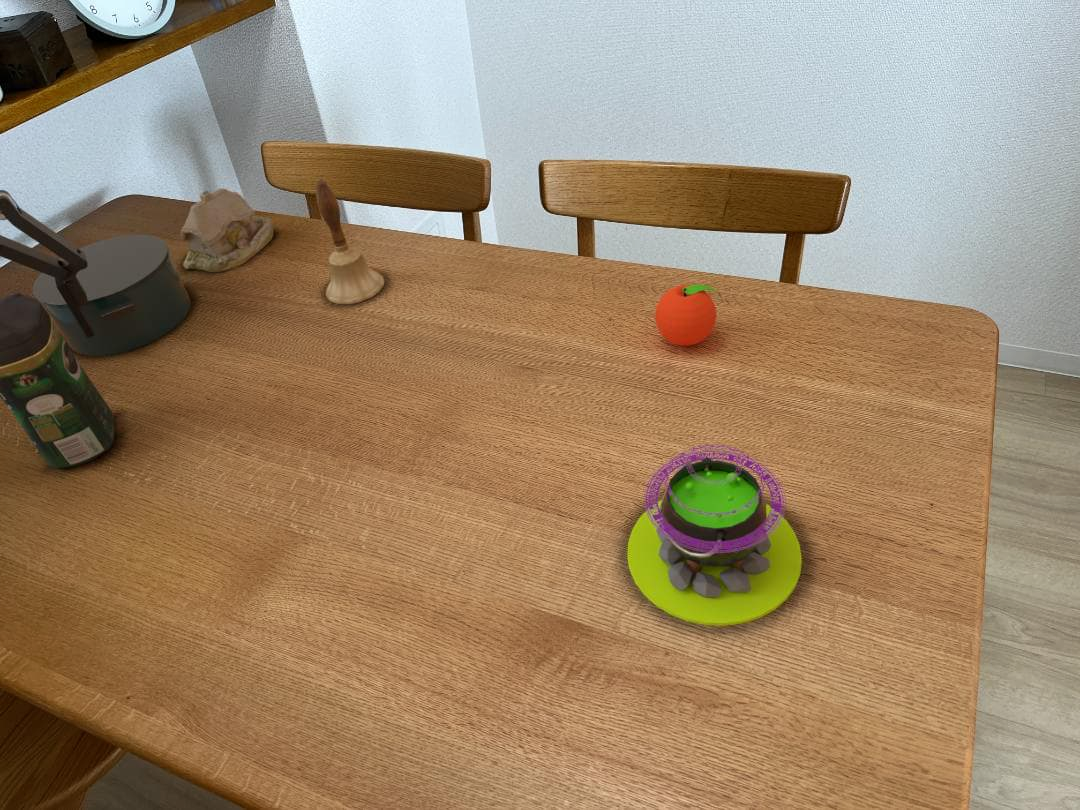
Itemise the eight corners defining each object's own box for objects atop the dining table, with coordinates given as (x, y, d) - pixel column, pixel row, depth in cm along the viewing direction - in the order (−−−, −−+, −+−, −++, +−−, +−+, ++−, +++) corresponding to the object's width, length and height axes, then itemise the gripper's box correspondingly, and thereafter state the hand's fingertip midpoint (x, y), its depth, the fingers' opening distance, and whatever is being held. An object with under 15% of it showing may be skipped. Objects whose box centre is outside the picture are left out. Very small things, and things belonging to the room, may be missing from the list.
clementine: (707, 314, 98) (707, 263, 93) (735, 344, 93) (737, 292, 88) (646, 332, 97) (643, 282, 92) (671, 364, 92) (670, 312, 87)
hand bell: (314, 296, 113) (275, 191, 103) (355, 267, 118) (322, 164, 107) (355, 310, 109) (319, 202, 98) (396, 279, 113) (366, 173, 103)
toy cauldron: (623, 494, 78) (615, 409, 70) (783, 484, 76) (791, 395, 69) (631, 630, 66) (623, 544, 59) (819, 621, 65) (834, 532, 57)
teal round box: (73, 380, 105) (38, 326, 99) (59, 311, 119) (28, 260, 113) (206, 328, 110) (180, 274, 105) (178, 268, 125) (154, 218, 119)
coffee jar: (49, 430, 97) (-42, 301, 85) (117, 407, 99) (37, 278, 87) (45, 481, 90) (-55, 348, 78) (118, 455, 92) (31, 322, 80)
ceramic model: (218, 280, 120) (191, 219, 114) (172, 265, 125) (143, 207, 119) (287, 235, 128) (265, 176, 122) (241, 223, 134) (218, 166, 127)
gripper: (-276, 231, 66) (-108, 423, 80) (44, 136, 74) (147, 326, 87) (-259, 200, 71) (-103, 385, 85) (39, 115, 79) (137, 297, 92)
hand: (24, 355), depth 86 cm, fingers open, 13 cm apart
